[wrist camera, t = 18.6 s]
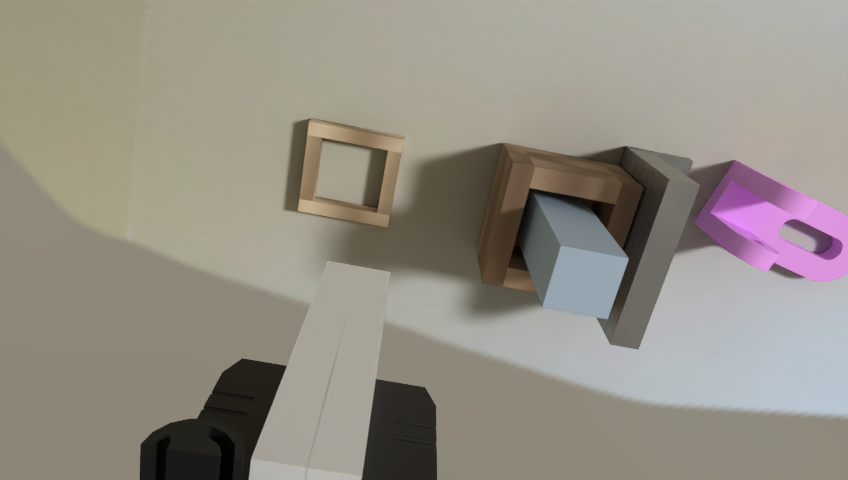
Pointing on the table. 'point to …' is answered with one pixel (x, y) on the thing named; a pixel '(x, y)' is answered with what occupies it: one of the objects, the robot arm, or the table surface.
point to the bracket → (772, 224)
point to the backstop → (649, 240)
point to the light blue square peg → (570, 254)
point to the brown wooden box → (552, 172)
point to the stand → (354, 136)
